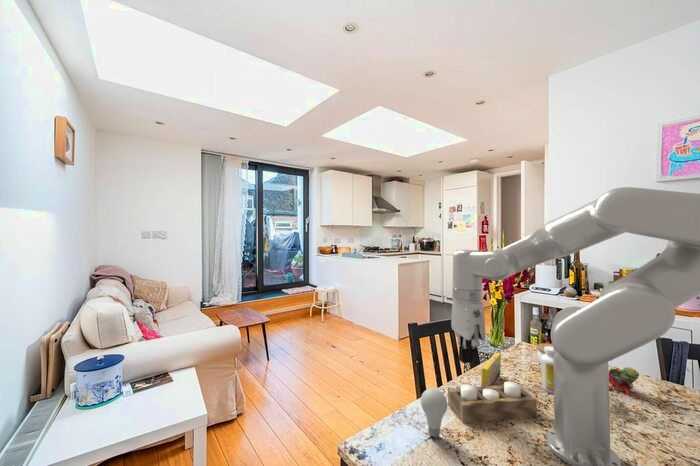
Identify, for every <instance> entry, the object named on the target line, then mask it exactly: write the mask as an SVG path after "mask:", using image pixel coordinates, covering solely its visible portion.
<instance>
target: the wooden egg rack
mask: <svg viewBox="0 0 700 466" xmlns="http://www.w3.org/2000/svg"><path fill="white" fill-rule="evenodd" d="M474 387H475V388H476V389H477V400H476V401H467V402H465V401H464V400H463V399H462V398H461V387H459V388H457V387H456V388H447V407H449V408H450V409H451V410H452V412H453V413H454V414H455V415H456V417H457V418H458V420H459V421H461V423H462V424H470V423H479V422H480V423H481V422H490V421H499V420H500V421H501V420H502V421H503V420H511V419H512V420H513V419H522V418H523V419H524V418H533V417H534V418H535V417H537V416H538V411H537V409H538V408H537V405H538V404H537V403H538V402H537V400H538V399H537V398H535V397H534V396H533V395H532V394H530V393H528V392H527V391H526V390H524V389H523V388H521V397H516V398H510V397H509V396H507V395H506V394H505V393H504V384H500V385H498V384H497V385H494V386H483V387H481V386H474ZM483 389H493V390H495V391H497V392H498V393H499V399H491V400H488V399H487V398H485V397H484V396H483Z"/></svg>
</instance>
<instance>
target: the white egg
mask: <svg viewBox="0 0 700 466" xmlns="http://www.w3.org/2000/svg"><path fill="white" fill-rule="evenodd" d="M475 387H476V386H473V385H471V384H461V386H460V388H461V398H462V399H463V400H464V401H465V402H467V401H476V400H477V389H476V388H475Z"/></svg>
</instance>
